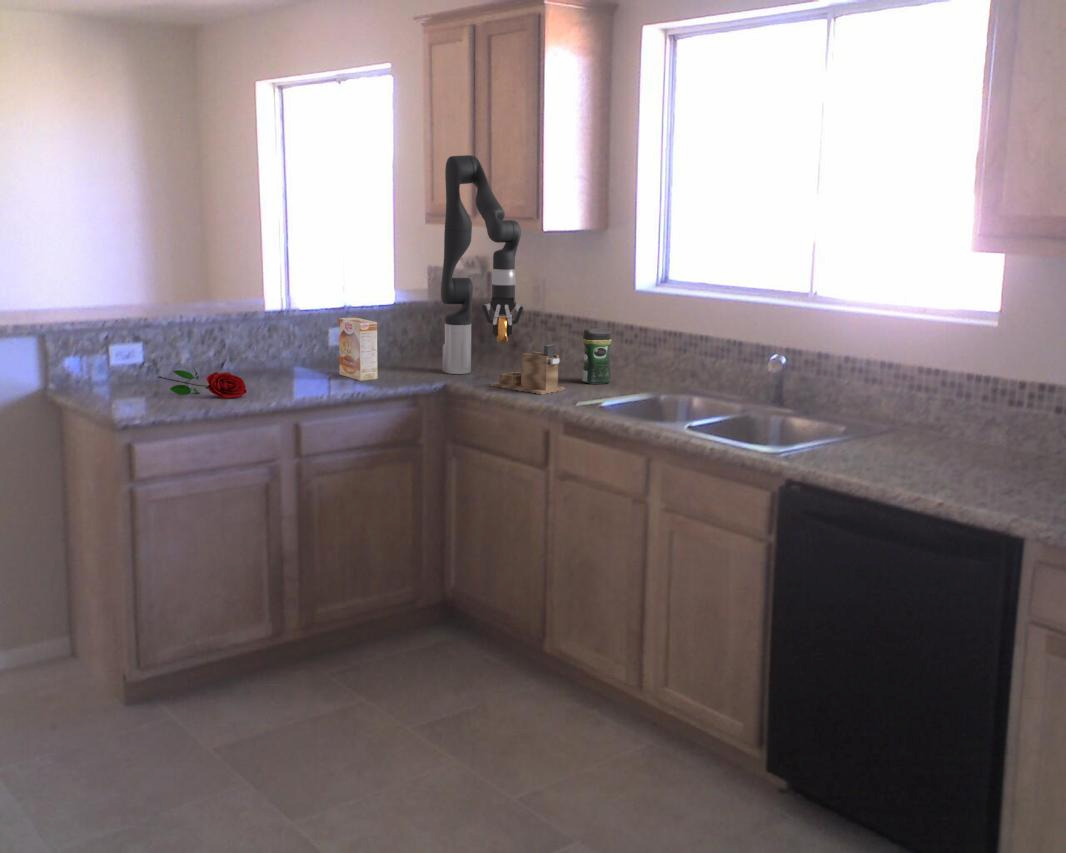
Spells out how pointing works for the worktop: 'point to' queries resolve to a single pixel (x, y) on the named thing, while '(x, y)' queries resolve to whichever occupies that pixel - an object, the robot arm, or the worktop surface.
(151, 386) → the worktop surface
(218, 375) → the flower
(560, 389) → the mount
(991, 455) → the worktop surface
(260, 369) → the worktop surface
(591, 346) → the coffee jar
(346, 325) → the coffeecake box
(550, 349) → the grey angular block
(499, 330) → the peg
